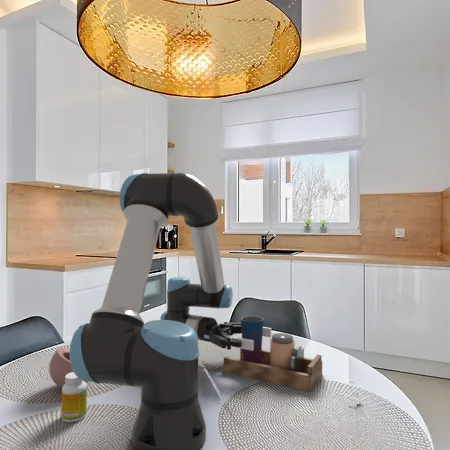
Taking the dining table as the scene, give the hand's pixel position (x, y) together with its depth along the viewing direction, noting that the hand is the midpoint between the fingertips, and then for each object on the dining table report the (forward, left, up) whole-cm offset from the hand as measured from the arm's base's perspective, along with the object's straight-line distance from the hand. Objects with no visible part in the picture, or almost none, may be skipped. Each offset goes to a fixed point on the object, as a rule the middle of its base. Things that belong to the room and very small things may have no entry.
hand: (262, 338), depth 106 cm
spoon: (-23, -16, -11) cm, 30 cm away
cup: (+2, +2, -10) cm, 10 cm away
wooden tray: (-2, -2, -10) cm, 11 cm away
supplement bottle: (-10, +51, -11) cm, 53 cm away
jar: (-4, -4, -9) cm, 11 cm away
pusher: (-8, -8, -9) cm, 14 cm away
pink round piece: (+6, +53, -11) cm, 54 cm away
